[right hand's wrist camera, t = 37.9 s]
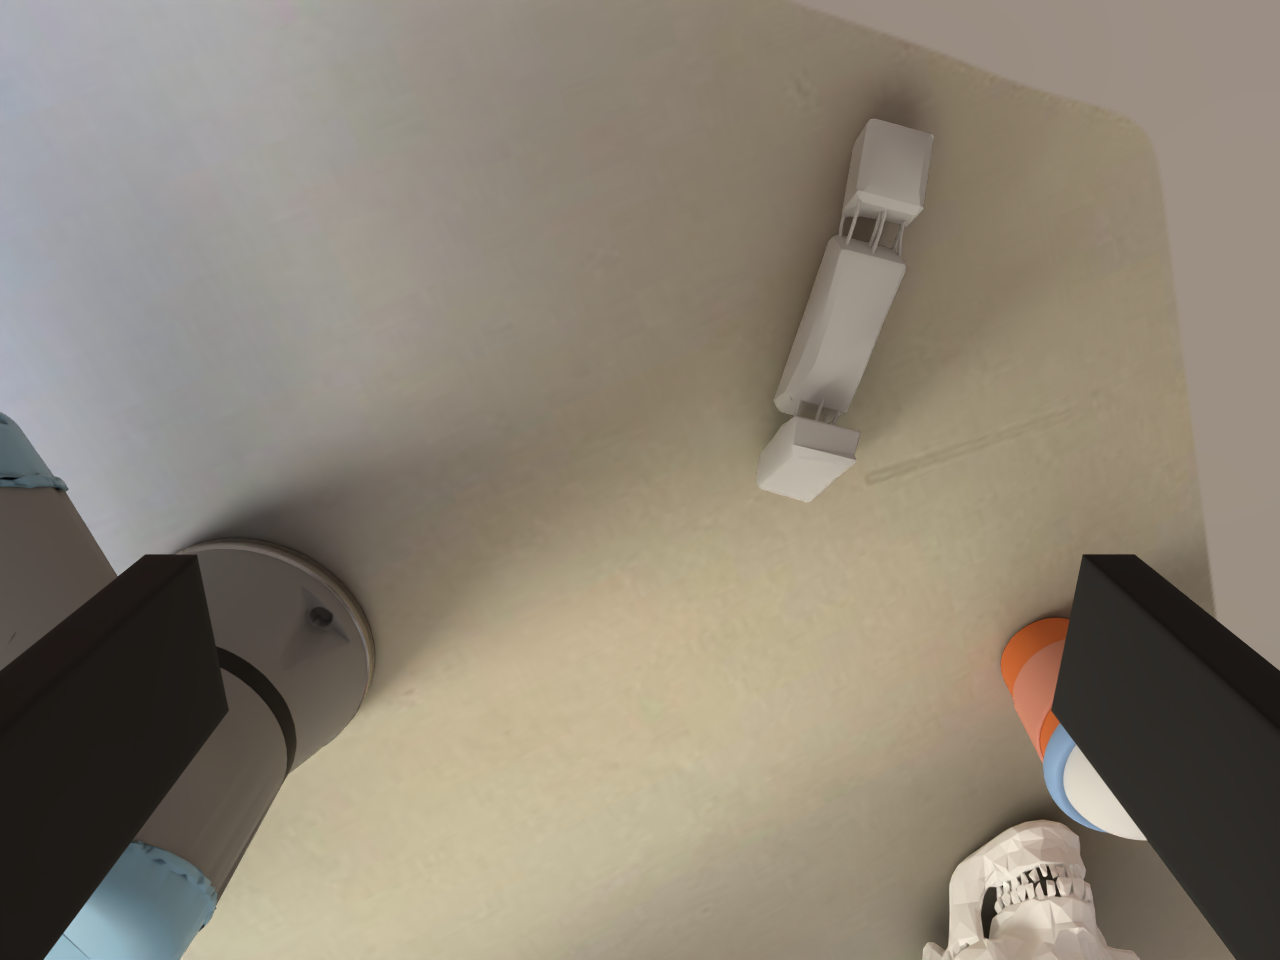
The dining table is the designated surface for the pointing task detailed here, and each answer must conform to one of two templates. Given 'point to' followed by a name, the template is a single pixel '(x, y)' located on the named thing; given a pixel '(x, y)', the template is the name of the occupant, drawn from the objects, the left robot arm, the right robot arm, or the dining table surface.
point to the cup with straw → (1058, 730)
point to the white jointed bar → (845, 314)
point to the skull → (1025, 901)
